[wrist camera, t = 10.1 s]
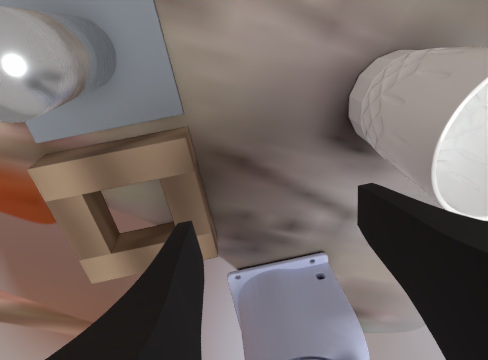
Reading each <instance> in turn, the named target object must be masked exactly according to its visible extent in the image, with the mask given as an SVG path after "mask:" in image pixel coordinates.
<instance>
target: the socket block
mask: <svg viewBox="0 0 488 360" xmlns="http://www.w3.org/2000/svg"><path fill="white" fill-rule="evenodd" d="M27 170H28V172H29V174H30V176H31V177H32V179H33V181H34V183H35V185H36V186H37V188H38V190H39V192H40V193H41V195H42V197H43V199H44V200H45V202H46V204H47V206H48V207H49V209H50V211H51V213H52V214H53V216H54V218H55V220H56V221H57V223H58V225H59V227H60V228H61V230H62V232H63V234H64V235H65V237H66V239H67V241H68V242H69V244H70V246H71V248H72V249H73V251H74V253H75V255H76V256H77V258H78V260H79V262H80V264H81V265H82V267H83V269H84V271H85V272H86V274H87V276H88V278H89V279H90V281H91V283H92V284H93V283H97V282H102V281H107V280H112V279H116V278H121V277H126V276H131V275H135V274H140V273H144V272H145V270H146V269H147V268H148V266H149V265H150V264H151V262H152V261H153V260H154V258H155V257H156V255H157V254H158V252H159V251H160V249H161V248H162V246H163V245H164V243H165V242H166V240H167V239H168V237H169V236H170V234H171V232H172V231H173V229H174V228H175V226H176V225H177V223H181V222H186V221H191V220H192V223H193V226H194V229H195V233H196V236H197V239H198V242H199V246H200V249H201V252H202V256H203V260H206V259H211V258H215V257H218V247H217V236H216V232H215V228H214V224H213V221H212V217H211V213H210V209H209V205H208V202H207V198H206V194H205V190H204V187H203V183H202V179H201V175H200V172H199V168H198V164H197V160H196V157H195V153H194V149H193V145H192V142H191V138H190V134H189V130H188V127H183V128H178V129H173V130H168V131H163V132H158V133H153V134H148V135H143V136H138V137H133V138H128V139H123V140H117V141H112V142H107V143H102V144H97V145H92V146H87V147H82V148H77V149H72V150H67V151H62V152H57V153H52V154H47V155H45V156H44V157H43V158H41V159H40V160H39V161H37V162H36V163H35V164H33V165H32V166H31V167H30V168H28V169H27ZM155 179H159V180H160V183H161V186H162V189H163V191H164V194H165V197H166V200H167V203H168V206H169V209H170V212H171V215H172V218H173V221H174V222H173V223H168V224H163V225H158V226H153V227H149V228H144V229H139V230H134V231H130V232H125V233H119V231H118V229H117V226H116V224H115V222H114V220H113V218H112V216H111V213H110V211H109V209H108V207H107V205H106V202H105V200H104V198H103V196H102V194H101V190H106V189H111V188H116V187H121V186H126V185H131V184H136V183H141V182H146V181H150V180H155Z"/></svg>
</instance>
